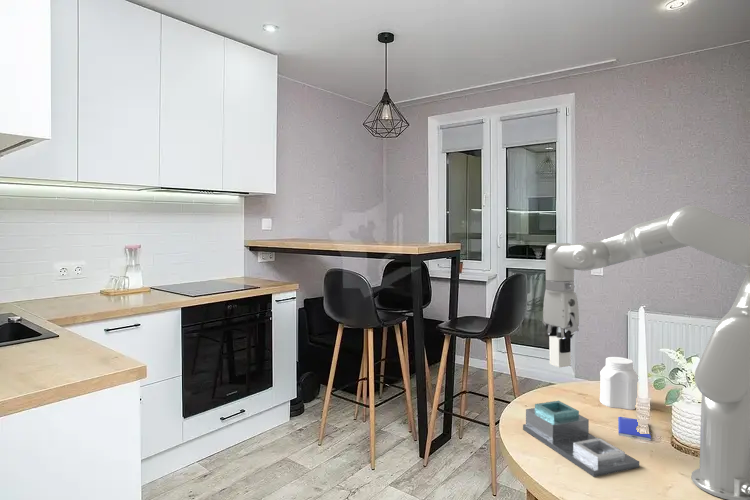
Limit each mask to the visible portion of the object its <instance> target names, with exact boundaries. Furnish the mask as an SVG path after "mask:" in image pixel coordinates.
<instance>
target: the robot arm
mask: <svg viewBox="0 0 750 500" xmlns="http://www.w3.org/2000/svg"><path fill="white" fill-rule="evenodd" d="M686 247H690V248H692V249H695V250H697V251H699V252H703V253H704V254H708V255H710V256H712V257H715V258H718V259H720V260H723V261H726V262H727V263H731V264H733V265H736V266H738V267H743V268H744V267H745V268H746V274H745V276H744V279H743V282H742V283H741V286H740V287H739V290H738V293H737V295H736V297H735V300H734V301H733V303H732V306H731V307H730V309H729V311H728V312H726V314H725V315H724V316H723V317H721V318H720V320H718V322H717V323H716V325H715V327H714V329H713V331H712V333H711V336H710V338H709V340H708V342H707V344H706V346H705V348H704V350H703V353H702V355H701V356H700V359H699V362H698V363H697V366H696V368H695V372H694V382H695V385H696V387H697V389H698V391H699V392H700V394H701V403H700V404H701V408H700V432H699V433H700V435H699V436H700V437H699V438H700V440H699V468H697V469H694V470H692V472H691V474H690V475H691V478H690V479H691V481H692V483H693V484H694V485H695V486H697V488H699V489H700V490H702V491H704V492H706V493H708V494H710V495H712V496H715V497H718V498H721V499H724V500H750V224H748V223H745V222H742V221H740V220H739V221H738V220H736V219H732V218H729V217H727V216H724V215H720V214H717V213H715V212H713V211H712V210H711V209H709V208H707V207H704V206H699V205H687V206H682V207H680V208H678V209H676V210H675V211H674V212H673V213H669V214H666V215H664V216H660V217H656V218H655V219H651V220H647V221H643V222H640V223H637V224H635V225H633V226H632V227H631V228H629V229H628V230H626V231H624V232H623V233H620V234H617V235H614V236H613V235H612V236H610V237H608V238H604V239H601V240H597V241H590V242H580V243H568V242H554V243H548V244H547V245H546V247H545V292H544V297H543V307H542V310H543V311H542V315H543V316H542V317H543V318H542V321H541V322H542V324H543V325H544V326H545V328H546V330H547V333H546V334H547V335H548V337H549V336H557V332H559V328H560V332H561V337H562V338H561V339H560V352H561V353H568V352H570V351H571V347H572V342H571V341H572V340H571V339H573V336H574V335H575V334H576V333H578V332H579V330H580V329H579V324H580V313H579V302H578V301H579V300H578V295H577V293H576V292H575V270H577V271H582V272H583V271H584V272H586V271H593V270H597V269H602V268H606V267H609V266H613V265H616V264H620V263H621V264H622V263H624V262H628V261H633V260H636V259H644V258H648V257H652V256H655V255H660V254H663V253H666V252H667V253H668V252H670V251H675V250H678V249H682V248H686ZM571 352H572V351H571Z"/></svg>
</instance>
